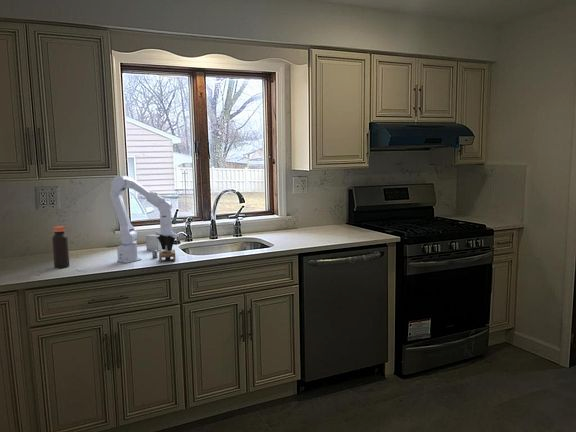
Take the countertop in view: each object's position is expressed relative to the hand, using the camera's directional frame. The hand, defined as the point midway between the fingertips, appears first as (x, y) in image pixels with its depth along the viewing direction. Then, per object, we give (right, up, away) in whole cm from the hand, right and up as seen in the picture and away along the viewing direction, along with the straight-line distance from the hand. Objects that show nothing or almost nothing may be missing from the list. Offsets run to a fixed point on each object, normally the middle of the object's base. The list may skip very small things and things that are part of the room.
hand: (167, 250), depth 244 cm
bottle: (-49, -8, -12) cm, 51 cm away
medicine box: (-15, -2, +28) cm, 32 cm away
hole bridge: (0, -5, +1) cm, 5 cm away
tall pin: (0, -5, +1) cm, 5 cm away
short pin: (-8, -5, +6) cm, 11 cm away
